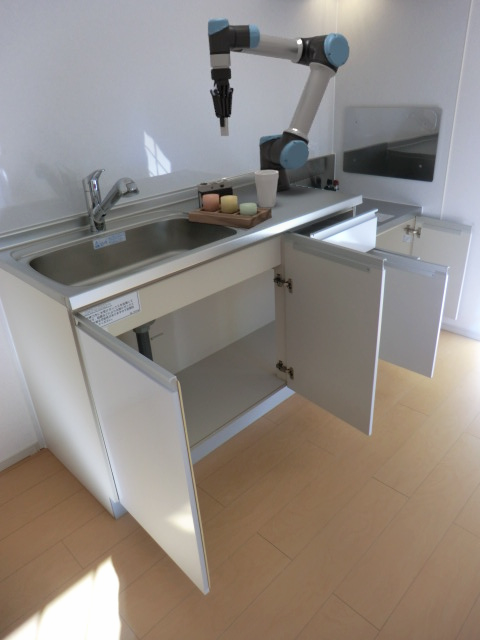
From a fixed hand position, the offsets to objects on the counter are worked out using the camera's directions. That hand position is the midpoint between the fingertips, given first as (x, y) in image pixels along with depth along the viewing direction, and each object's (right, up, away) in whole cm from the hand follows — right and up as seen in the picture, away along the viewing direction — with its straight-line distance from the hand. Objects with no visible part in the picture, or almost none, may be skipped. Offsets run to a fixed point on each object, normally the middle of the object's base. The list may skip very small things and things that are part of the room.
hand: (224, 135), depth 189 cm
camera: (-5, -25, +10) cm, 27 cm away
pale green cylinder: (+9, -36, -15) cm, 40 cm away
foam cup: (+17, -26, +5) cm, 32 cm away
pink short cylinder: (-5, -31, -8) cm, 32 cm away
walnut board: (+2, -35, -11) cm, 37 cm away
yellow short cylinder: (+2, -32, -12) cm, 34 cm away
